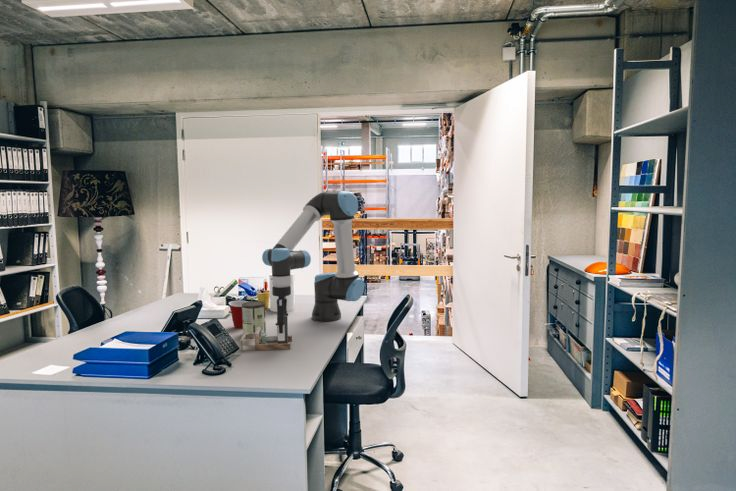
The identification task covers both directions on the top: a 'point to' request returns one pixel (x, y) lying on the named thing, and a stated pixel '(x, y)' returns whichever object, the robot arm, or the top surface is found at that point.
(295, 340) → the top surface
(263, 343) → the striker
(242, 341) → the lane
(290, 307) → the canister
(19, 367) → the top surface
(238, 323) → the plastic cup
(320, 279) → the robot arm
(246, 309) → the coffee can
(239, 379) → the top surface
